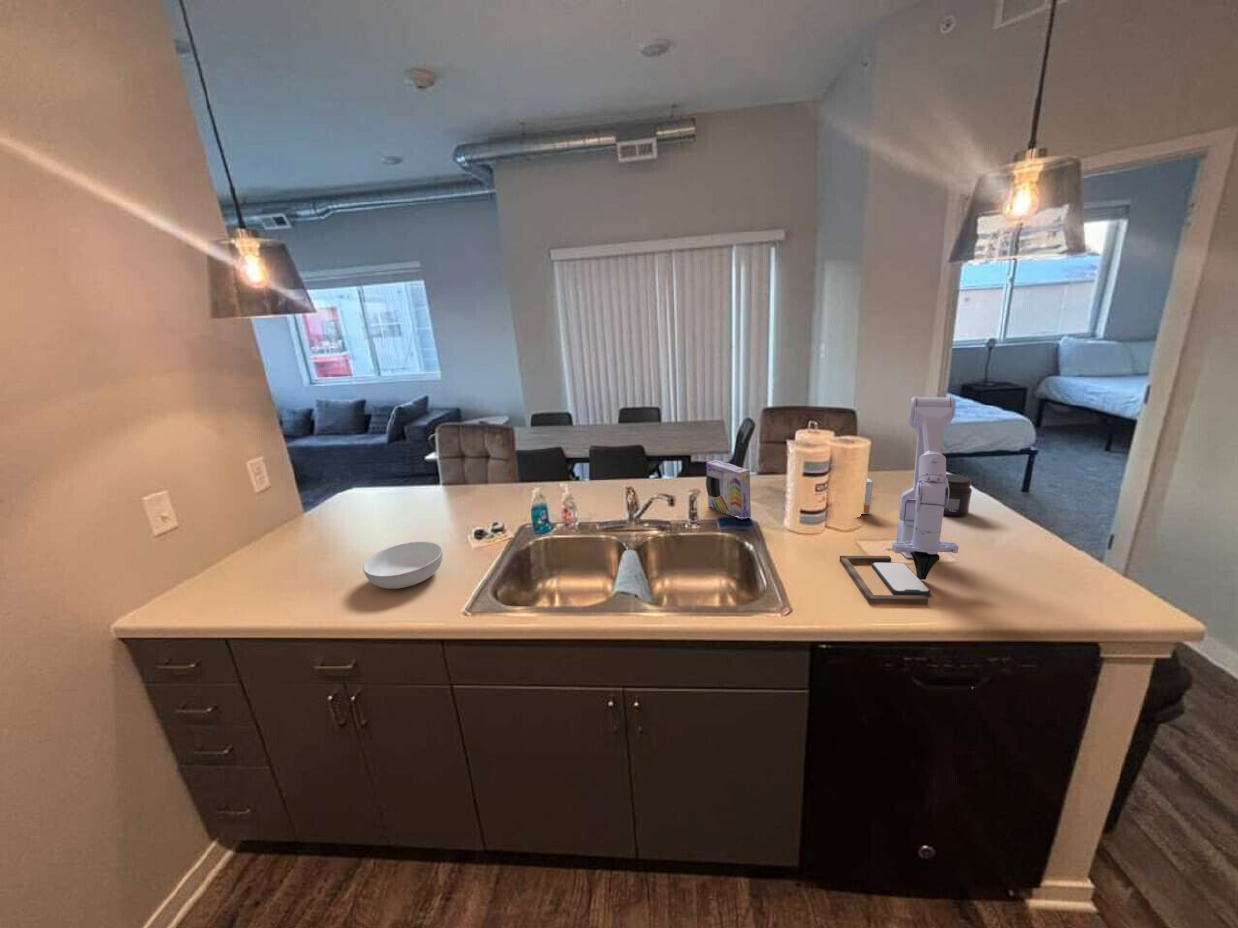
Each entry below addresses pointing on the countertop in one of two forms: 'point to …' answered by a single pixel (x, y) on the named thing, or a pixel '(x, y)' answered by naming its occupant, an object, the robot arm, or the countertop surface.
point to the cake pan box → (728, 488)
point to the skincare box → (868, 496)
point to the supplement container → (958, 496)
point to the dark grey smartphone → (900, 579)
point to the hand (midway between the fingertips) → (921, 577)
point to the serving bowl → (403, 564)
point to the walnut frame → (867, 592)
